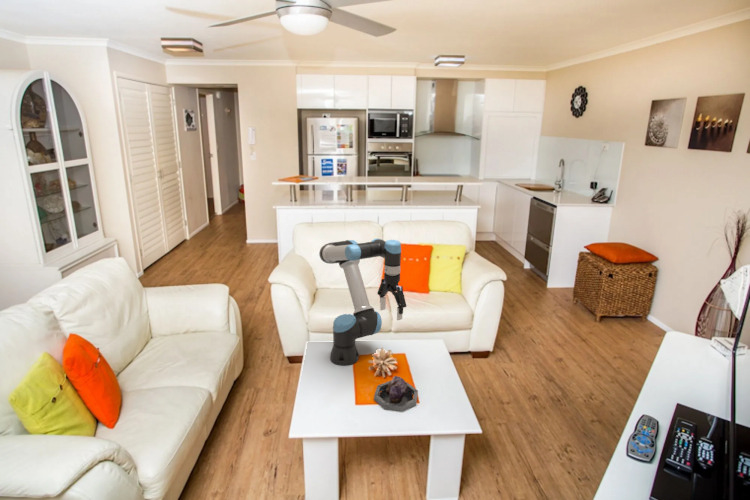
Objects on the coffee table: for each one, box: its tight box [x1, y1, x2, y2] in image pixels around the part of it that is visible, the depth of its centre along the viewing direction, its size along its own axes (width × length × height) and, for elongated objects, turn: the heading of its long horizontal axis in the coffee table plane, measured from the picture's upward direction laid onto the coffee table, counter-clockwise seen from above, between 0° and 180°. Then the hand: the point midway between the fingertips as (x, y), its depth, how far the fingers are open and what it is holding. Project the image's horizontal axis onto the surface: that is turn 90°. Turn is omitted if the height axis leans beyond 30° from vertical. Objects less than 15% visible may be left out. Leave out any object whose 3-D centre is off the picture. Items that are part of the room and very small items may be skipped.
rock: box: [386, 375, 408, 404], centre depth 201 cm, size 12×9×10 cm
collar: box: [373, 380, 419, 412], centre depth 203 cm, size 19×19×2 cm
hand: (390, 314), depth 214 cm, fingers open, 13 cm apart
